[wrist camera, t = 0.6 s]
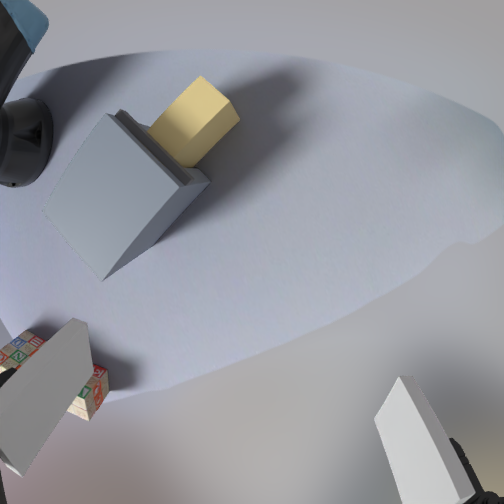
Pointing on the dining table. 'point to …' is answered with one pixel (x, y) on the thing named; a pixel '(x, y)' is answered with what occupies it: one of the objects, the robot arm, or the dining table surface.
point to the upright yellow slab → (194, 123)
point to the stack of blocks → (87, 397)
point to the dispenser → (119, 194)
